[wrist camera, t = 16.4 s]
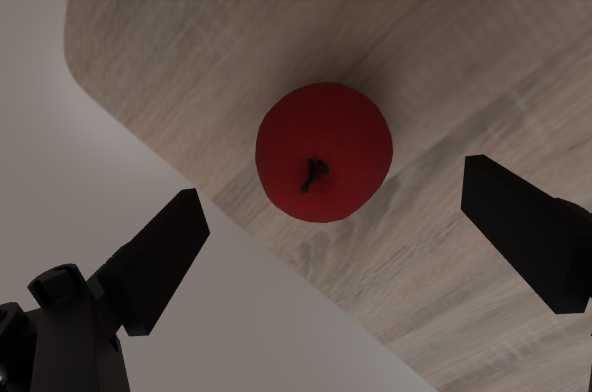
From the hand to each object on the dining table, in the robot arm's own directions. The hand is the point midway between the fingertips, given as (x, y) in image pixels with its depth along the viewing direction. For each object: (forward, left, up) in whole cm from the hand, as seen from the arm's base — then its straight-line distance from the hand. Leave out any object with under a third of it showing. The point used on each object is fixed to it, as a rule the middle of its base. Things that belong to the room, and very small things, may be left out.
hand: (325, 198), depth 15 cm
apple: (0, 0, -11) cm, 11 cm away
